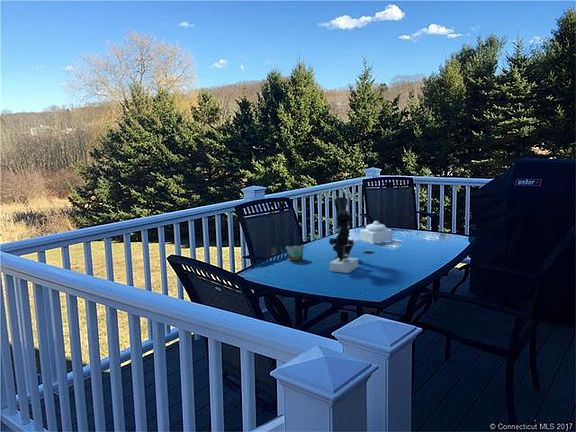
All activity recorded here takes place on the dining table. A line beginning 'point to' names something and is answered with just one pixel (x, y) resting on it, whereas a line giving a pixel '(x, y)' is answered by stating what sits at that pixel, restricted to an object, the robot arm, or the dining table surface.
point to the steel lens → (345, 258)
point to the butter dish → (376, 233)
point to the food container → (295, 253)
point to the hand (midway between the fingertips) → (343, 259)
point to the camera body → (343, 265)
